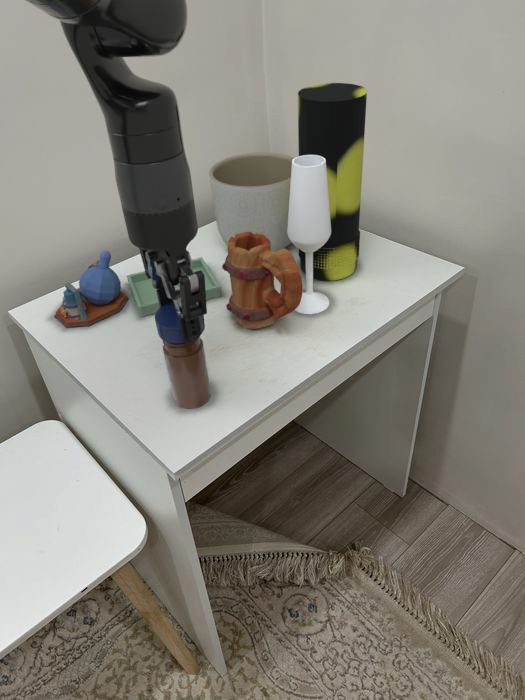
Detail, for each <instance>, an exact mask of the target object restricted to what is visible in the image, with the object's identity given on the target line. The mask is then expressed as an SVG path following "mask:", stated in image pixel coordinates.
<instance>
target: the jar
mask: <svg viewBox="0 0 525 700" xmlns="http://www.w3.org/2000/svg"><path fill="white" fill-rule="evenodd" d="M162 344H163V345H162V352H163V356H164V362H165V366H166V370H167V374H168V379H169V383H170V387H171V392H172V397H173V402H174V403H175V405H176V406H178V407H180V408H182V409H186V410H193V409H198V408H200V407H203V406H205V405H206V404H207V403H208V402H209V400H210V399H211V397H212V388H211V384H210V377H209V369H208V365H207V364H208V363H207V357H206V351H205V346H204V340H203V339H202V338H201V336H200V337H199V338H196V339H194V340H192V341H189V342H186V343H169V342H166V341H164V340H162Z"/></svg>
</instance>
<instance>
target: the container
mask: <svg viewBox="0 0 525 700" xmlns="http://www.w3.org/2000/svg"><path fill="white" fill-rule="evenodd" d="M367 98H368V90H367V88H366V87H364V86H362V85H359V84H354V83H347V82H346V83H344V82H329V83H326V82H325V83H317V84H313V85H309V86H306V87H303V88H301V89H300V90H298V91H297V130H298V131H297V133H298V134H297V135H298V157H299V156H303V155H318V156H321V157H324V158H325V160H326V170H327V183H328V196H329V209H330V221H331V235H330V237H329V239H328V241H327V242H326V243H325V244H324V245H323V246H322V247H321V248H319V249H318V250H317V251H315V252H313V280H318V281H323V282H324V281H325V282H331V281H333V282H334V281H339V280H343V279H345V278H348V277H349V276H351V275H353V274H354V272H356V270H357V267H358V266H357V265H358V258H359V255H360V243H361V242H360V239H361V231H360V217H361V199H362V197H361V196H362V183H363V182H362V181H363V165H364V150H365V149H364V148H365V133H366V116H367ZM298 257H299V262H300V263H299V264H300V265H299V266H300V267H299V268H300V271H301V272H302V273H303V274H304V275H306V252H303V251H302V250H300V249H299V248H298Z"/></svg>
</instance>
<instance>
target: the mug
mask: <svg viewBox="0 0 525 700" xmlns="http://www.w3.org/2000/svg"><path fill="white" fill-rule="evenodd" d="M226 245H227V255H226V256H225V260H224V263H223V264H222V265H221V268H222V270H223V271H224V272H227V273H228V274H229V281H230V287H231V295H230V297H229V299H228V303H227V304H226V306H225V308H226V310H227V311H228V312H230V313H231V314H232V315H233V316H234V319H235V320H236V321H237V322H238V324H239V325H240V326H242V327H244V328H246V329H261V328H266V327H269V326H271V325H273V324H274V323H275V322H277V320H278V319H281V318H284V317H285V316H287V315H289V314H291V313H293V312H295V309H296V308H297V307H298V306H299V304H300V302H301V298H302V292H304V289H303V288H304V284H303V278H302V274H301V268H300V267H299V265H298V262H297V261H296V259H295V258H294V255H293V253H291V252H290V250H288V249H287V248H284V249H281V250H279V251H277V252H273V251H271V245H270V240H269V239H268V238H266V236H265V235H263V234H258V233H256V234H253V233H252V232H244V233H239V234H236V235H235V238H234V237H230V239H229V241H228V244H226ZM275 279H276V280H277V281H278V283H279V284H280V291H278V290H277V289H276V288H275Z"/></svg>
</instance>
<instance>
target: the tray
mask: <svg viewBox="0 0 525 700" xmlns="http://www.w3.org/2000/svg"><path fill="white" fill-rule="evenodd" d="M192 262H193V265H192V269H193V272H196V271H199V270H201V271H202V272H203V273H204V276H205V290H206V301H209V300H212V299H217V298H219V297H222V290H221V286H220V284H219V282H218V281H217V280H216V278H215V276H214V275H213V273H212V271H211V269H210V268H209V266H208V265H207V263H206V262H205V260H204V259H203V257H197V258H194V259H192ZM145 273H146V272H145V270H143V271H139V272H136V273H131V274H127V275H126V280H127V284H128V286H129V289H130V292H131V294H132V295H131V296H132V297H133V299H134V302H135V305H136V308H137V311H138V313H139V316H140V318H143V317H147V316H150V315H155V314H156V312H157V311H158V309H160V306H159V302H158V297H157V292H156V290H157V289H156V290H155V289H154V287H153V286H152V278H150V279H148V277H147V276H146V274H145ZM174 287H175V290H177V289H180V288H179V286H178V285H176V286H174ZM180 301H181V297H180Z"/></svg>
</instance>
